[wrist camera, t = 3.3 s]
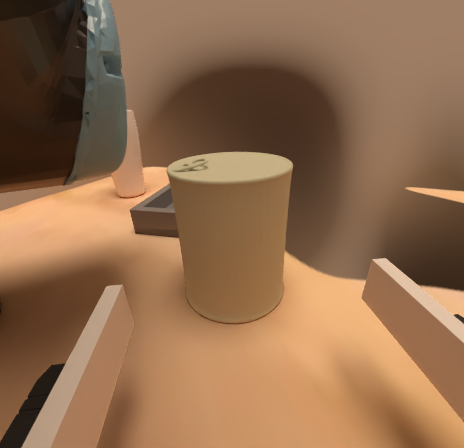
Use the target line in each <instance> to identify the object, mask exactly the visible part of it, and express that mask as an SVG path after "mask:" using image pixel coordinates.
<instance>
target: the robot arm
mask: <svg viewBox="0 0 464 448" xmlns="http://www.w3.org/2000/svg"><path fill="white" fill-rule="evenodd" d="M121 68H122V66H121V55H120V42H119V36H118V31H117V26H116V21H115V17H114V12H113V9H112V6H111V3H110V0H0V193H5V192H13V191H21V190H28V189H36V188H43V187H52V186H59V185H63V186H64V185H71V184H73V183H74V182H76V181H81V180H86V179H91V178H95V177H101V176H106V175H109V174H111V173H113V172H115V171H116V170H117V169H118V168H119V167H120V166H121V164H122V163H123V160H124V158H125V154H126V147H127V105H126V93H125V83H124V79H123V76H122V73H121ZM362 299H363V300H364V301H365V303H366V304H367V305H368V306H369V307H370V309H371V310H372V311H373V312H374V314H375V315H376V316H377V317H378V318H379V320H380V321H381V322H382V323H383V324H384V326H385V327H386V328H387V329H388V331H389V332H390V333H391V334H392V335H393V337H394V338H395V339H396V340H397V341H398V343H399V344H400V345H401V346H402V348H403V349H404V350H405V351H406V352H407V354H408V355H409V356H410V357H411V358H412V360H413V361H414V362H415V363H416V365H417V366H418V367H419V368H420V369H421V371H422V372H423V373H424V374H425V375H426V377H427V378H428V379H429V380H430V382H431V383H432V384H433V385H434V386H435V388H436V389H437V390H438V391H439V392H440V394H441V395H442V396H443V397H444V399H445V400H446V401H447V402H448V403H449V405H450V406H451V407H452V408H453V409H454V411H455V412H456V413H457V414H458V416H459V417H460V418H461V419H462V420H463V422H464V318H463V317H462V316H460V315H458V314H455V315H453V314H451V313H450V312H449V311H448V310H447V309H445V308H444V307H443V306H442V305H441V304H439V303H438V302H437V301H436V300H435V299H433V298H432V297H431V296H430V295H429V294H427V293H426V292H425V291H424V290H423V289H422V288H420V287H419V286H418V285H417V284H416V283H414V282H413V281H412V280H411V279H410V278H408V277H407V276H406V275H405V274H403V273H402V272H401V271H400V270H399V269H398V268H396V267H395V266H394V265H393V264H392V263H390V262H389V261H388V260H387V259H386V258H383V259H373V260H372V262H371V266H370V269H369V273H368V276H367V280H366V284H365V287H364V291H363V294H362ZM1 306H2V303H1V299H0V312H1ZM134 324H135V322H134V319H133V316H132V313H131V310H130V306H129V303H128V300H127V297H126V294H125V291H124V287H123V284H122V285H112V286H106V288H105V290H104V292H103V294H102V296H101V298H100V299H99V301H98V303H97V305H96V307H95V309H94V311H93V313H92V315H91V317H90V318H89V320H88V322H87V324H86V326H85V328H84V330H83V332H82V334H81V336H80V337H79V339H78V341H77V343H76V345H75V347H74V349H73V351H72V353H71V354H70V356H69V358H68V360H67V362H66V363H65V364H57V365H51V366H50V367H49V369H48V370H47V371H46V372H45V373H44V374H43V375H42V376H41V377H40V378H39V379H38V380H37V382H36V383H35V385H34V387H33V388H32V390H31V392H30V393H29V395H28V398H27V400H25V402H24V403H23V405H22V407H21V408H20V410H19V414H17V415H16V417H15V418H14V420H13V422H12V423H11V425H10V427H9V428H8V430H7V432H6V433H5V435H4V437H3V438H2V440H1V442H0V448H97V444H98V441H99V438H100V435H101V432H102V428H103V425H104V422H105V419H106V415H107V412H108V409H109V406H110V402H111V399H112V396H113V393H114V389H115V386H116V383H117V380H118V376H119V373H120V370H121V367H122V363H123V360H124V357H125V354H126V350H127V347H128V344H129V341H130V337H131V334H132V331H133V328H134Z"/></svg>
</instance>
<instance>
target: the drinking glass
mask: <svg viewBox="0 0 464 448" xmlns="http://www.w3.org/2000/svg"><path fill="white" fill-rule="evenodd" d="M138 137H139V136H138V130H137V125H136V121H135V117H134V113H133V110H127V147H126V154H125V158H124V160H123V163H122V164H121V166H120V167H119V168H118V169H117V170H116V171H115V172H113V173H111V176H112V179H113V181H114V184H115V188H116V191H117V194H118V195H119V196H120V197H126V198H128V197H135V196H139V195H141V194H143V193H144V192H145V190H146V189H145V183H144V177H143V169H142V162H141V153H140V144H139V138H138Z"/></svg>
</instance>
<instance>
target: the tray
mask: <svg viewBox="0 0 464 448" xmlns="http://www.w3.org/2000/svg"><path fill="white" fill-rule="evenodd" d="M130 213H131V217H132V221H133V225H134V229H135V233H138V234H148V235H159V236H170V237H179V234H178V228H177V222H176V216H175V210H174V204H173V198H172V192H171V187H170V184H168V185H167V186H165V187H164V188H162V189H161V190H159V191H158V192H156V193H155V194H153V195H152V196H150V197H149V198H147V199H145V200H144V201H142V202H141V203H139V204H138V205H136V206H135V207H133V208H132V209H130Z"/></svg>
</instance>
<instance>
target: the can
mask: <svg viewBox="0 0 464 448" xmlns="http://www.w3.org/2000/svg"><path fill="white" fill-rule="evenodd" d="M292 169H293V165H292V162H291V161H290V160H288V159H286V158H284V157H281V156H277V155H272V154H266V153H255V152H224V153H212V154H204V155H198V156H193V157H188V158H184V159H181V160H178V161H176V162H174V163H172V164H171V165H169V166H168V168H167V174H168V177H169V182H170V187H171V192H172V198H173V204H174V210H175V216H176V222H177V228H178V234H179V241H180V247H181V253H182V260H183V266H184V273H185V281H186V287H185V292H186V297H187V300H188V302H189V303H190V305H191V306H192V308H193V309H194V310H195V311H197V312H198V313H199V314H200V315H202V316H204V317H206V318H208V319H211V320H214V321H217V322H222V323H244V322H249V321H253V320H256V319H259V318H261V317H263V316H265V315H267V314H268V313H269V312H271V311H272V310H273V309H274V308H275V307H276V306H277V305H278V303H279V302H280V300H281V298H282V295H283V291H284V284H283V266H284V251H285V239H286V238H285V237H286V226H287V225H286V224H287V212H288V202H289V191H290V181H291V173H292Z"/></svg>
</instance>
